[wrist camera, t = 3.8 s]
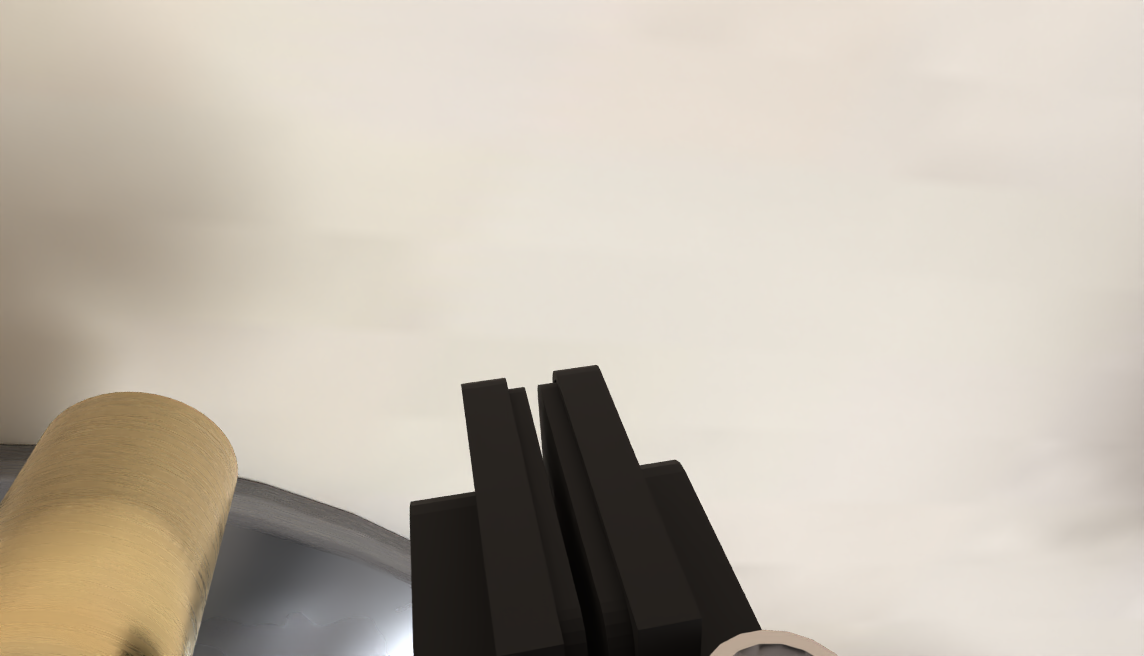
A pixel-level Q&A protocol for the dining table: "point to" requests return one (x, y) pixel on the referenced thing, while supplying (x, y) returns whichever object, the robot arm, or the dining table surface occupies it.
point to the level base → (295, 578)
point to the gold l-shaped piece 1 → (114, 530)
